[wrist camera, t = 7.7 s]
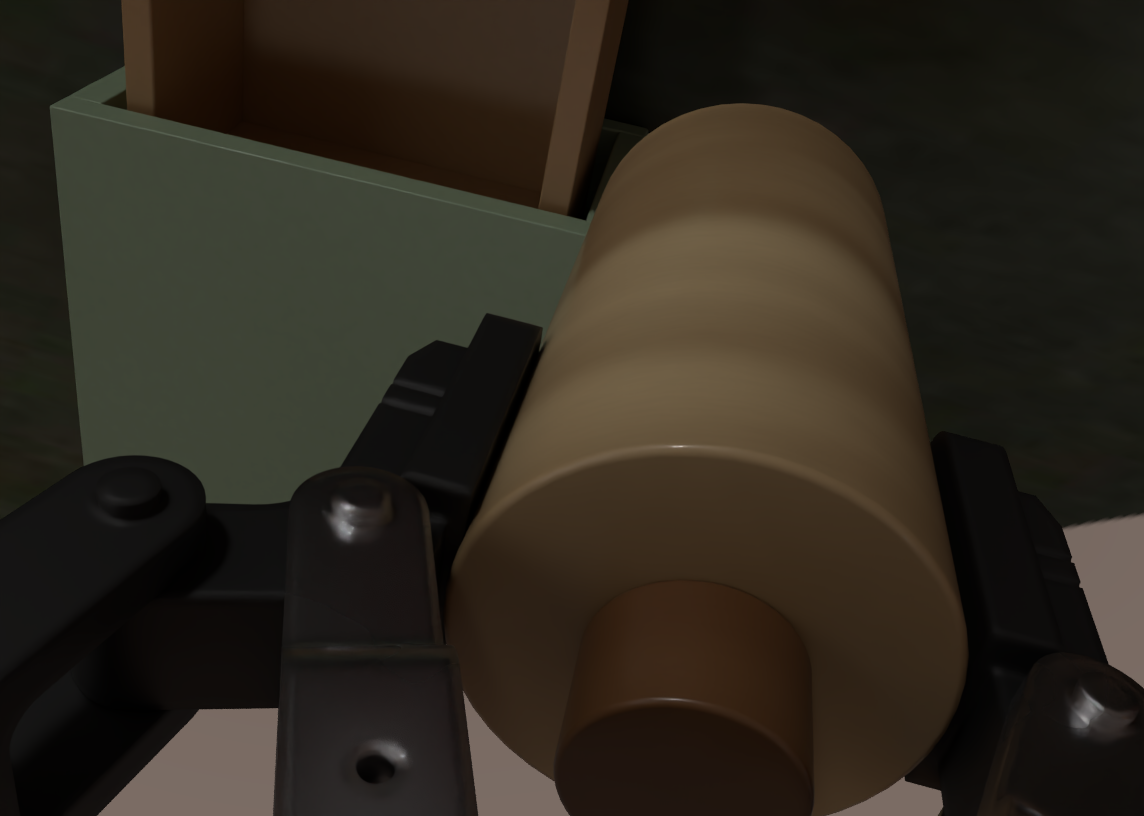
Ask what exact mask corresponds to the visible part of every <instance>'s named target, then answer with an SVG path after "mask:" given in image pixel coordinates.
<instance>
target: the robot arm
mask: <svg viewBox="0 0 1144 816" xmlns="http://www.w3.org/2000/svg"><path fill="white" fill-rule="evenodd" d="M542 331H543V328H542V327H540V326H537V325H533V324H529V323H525V322H521V321H517V320H513V319H509V318H505V317H501V316H498V315H494V314H490V313H486V315H485V316H484V318H483V320H482V322H481V323H480V325H479V327H478V329H477V331H476V333H475V335H474V337H473V339H472V341H471V343H470V344H469V346H468V348H467V347H463V346H459V345H455V344H451V343H447V342H443V341H439V340H435V341H434V342H432V343H430V344H428V345H427V346H425V347H423V348H421V349H420V350H418V351H416V352H414V353H412V354H411V355H409V356H408V357H407V359H406V360H405V362H404V364H403V365H402V367H401V368H400V370H399V372H398V373H397V375H396V377H395V378H394V381H393V384H391V385H390V386H389V388H388V390H387V391H386V393H385V395H384V396H383V398H382V402H381V403H379V404H378V406H377V408H376V409H375V411H374V413H373V414H372V416H371V417H370V419H369V421H368V422H367V424H366V426H365V427H364V429H363V430H362V432H361V434H360V435H359V437H358V439H357V440H356V442H355V444H354V445H353V447H352V448H351V450H350V452H349V453H348V455H347V457H346V458H345V460H344V462H343V463H342V465H341V466H340V467H339V468H334V469H330V470H326V471H323V472H320V473H318V474H315V475H314V476H312V477H310V478H308V479H307V480H305V481H304V482H303V483H302V484H301V485H299V487H298V488H297V489H296V490H295V492H294V493H293V495H292V498H291V500H290V501H286V502H281V503H273V504H226V503H206V495H205V489H204V487H203V485H202V483H201V481H200V480H199V479H198V477H197V476H196V475H195V474H194V473H193V472H191V471H190V470H189V469H187V468H186V467H184V466H182V465H180V464H178V463H175V462H173V461H170V460H167V459H163V458H159V457H153V456H145V455H128V456H117V457H112V458H106V459H103V460H99V461H96V462H93V463H90V464H88V465H85V466H83V467H81V468H79V469H77V470H76V471H74V472H72V473H71V474H69V475H68V476H66V477H65V478H63V479H62V480H60V481H59V482H57V483H56V484H54V485H52V486H51V487H49V488H48V489H46V490H45V491H43V492H42V493H40V494H39V495H37V496H36V497H34V498H33V499H31V500H30V501H28V502H27V503H25V504H24V505H22V506H21V507H19V508H18V509H16V510H15V511H13V512H12V513H10V514H9V515H7V516H6V517H4V518H3V519H1V520H0V816H97V815H98V814H99V813H100V812H101V811H102V810H103V809H104V808H105V807H106V806H107V805H108V804H109V803H110V802H111V800H113V799H114V798H115V796H117V795H118V794H119V792H120V791H121V790H122V789H123V788H124V787H125V786H126V785H127V784H128V783H129V782H130V781H131V780H132V779H133V778H134V777H135V776H136V775H137V774H138V773H139V772H140V771H141V770H142V769H143V768H144V767H145V766H146V765H147V764H148V763H149V762H150V761H151V760H152V759H153V757H154V756H156V755H157V754H158V752H159V751H160V750H161V749H162V748H163V747H164V746H165V745H166V744H167V743H168V742H169V741H170V740H171V739H172V738H173V737H174V736H175V735H176V734H177V733H178V732H179V731H180V730H181V729H182V728H183V727H184V726H185V725H186V724H187V723H188V722H189V721H190V720H191V719H192V718H193V716H194V715H195V714H196V712H197V711H198V710H199V709H251V708H278V727H277V747H276V768H275V789H274V808H273V816H478V811H477V802H476V794H475V786H474V778H473V770H472V761H471V753H470V745H469V737H468V729H467V721H466V713H465V704H464V696H463V688H462V680H461V672H460V664H459V659H458V654H457V651H456V648H455V647H454V646H453V645H447V643H446V639H445V630H444V615H443V608H444V599H445V589H446V584H447V581H448V577H449V574H450V570H451V567H452V564H453V561H454V559H455V556H456V554H457V551H458V549H459V547H460V545H461V543H462V541H463V539H464V536H465V534H466V531H467V529H468V526H469V524H470V521H471V519H472V517H473V514H474V512H475V509H476V507H477V504H478V502H479V499H480V497H481V494H482V492H483V489H484V487H485V484H486V482H487V479H488V477H489V475H490V472H491V470H492V467H493V465H494V462H495V460H496V457H497V455H498V452H499V450H500V447H501V445H502V442H503V440H504V437H505V435H506V433H507V430H508V428H509V425H510V423H511V420H512V418H513V415H514V413H515V410H516V408H517V405H518V403H519V400H520V398H521V396H522V393H523V391H524V388H525V386H526V383H527V381H528V378H529V376H530V373H531V371H532V368H533V366H534V363H535V361H536V358H537V356H538V354H539V349H540V344H541V339H542ZM930 446H931V451H932V456H933V461H934V466H935V471H936V476H937V481H938V486H939V491H940V496H941V501H942V506H943V511H944V516H945V521H946V526H947V531H948V536H949V541H950V547H951V552H952V557H953V562H954V567H955V572H956V577H957V582H958V587H959V592H960V597H961V602H962V607H963V612H964V617H965V622H966V627H967V637H968V649H969V659H968V669H967V678H966V683H965V686H964V690H963V693H962V696H961V700H960V703H959V706H958V708H957V711H956V712H955V714H954V716H953V718H952V720H951V722H950V724H949V726H948V728H947V730H946V732H945V733H944V735H943V736H942V737H941V739H940V740H939V741H938V743H937V744H936V745H935V747H934V748H933V749H932V751H931V752H930V753H929V754H928V755H927V756H926V757H925V758H924V759H923V760H922V761H921V762H920V763H919V764H918V765H917V766H916V767H915V768H914V769H913V770H912V771H911V772H910V773H908V774H907V775H905V781H907V782H911V783H914V784H918V785H922V786H926V787H929V788H933V789H937V790H940V791H941V793H942V800H943V808H942V810H941V811H940V813H939V814H938V816H1144V688H1143V687H1141V686H1140V685H1139V684H1138V683H1137V682H1135V681H1134V680H1133V679H1132V678H1130V677H1128V676H1127V675H1126V674H1124V673H1123V672H1121V671H1119V670H1117V669H1116V668H1114V667H1112V666H1110V665H1109V664H1108V661H1107V658H1106V655H1105V652H1104V649H1103V646H1102V644H1101V641H1100V638H1099V635H1098V632H1097V629H1096V626H1095V623H1094V621H1093V618H1092V615H1091V611H1090V609H1089V606H1088V603H1087V600H1086V597H1085V594H1084V591H1083V588H1080V587H1079V584H1080V579H1079V576H1078V573H1077V571H1076V568H1075V564H1074V563H1071V558H1072V556H1071V553H1070V550H1069V547H1068V544H1067V541H1066V538H1065V535H1064V532H1063V529H1062V527H1061V525H1060V524H1059V523H1058V522H1057V521H1056V519H1055V518H1054V517H1053V516H1052V515H1051V513H1050V512H1049V511H1048V510H1047V509H1046V508H1045V506H1044V505H1043V504H1042V503H1041V502H1040V500H1039V499H1038V498H1037V497H1036V496H1034V495H1031V494H1027V493H1023V492H1019V491H1018V490H1017V487H1016V483H1015V480H1014V477H1013V473H1012V470H1011V467H1010V463H1009V460H1008V457H1007V453H1006V451H1005V449H1004V448H1003V447H1002V446H999V445H995V444H991V443H988V442H984V441H980V440H976V439H972V438H968V437H964V436H960V435H957V434H953V433H949V432H945V431H942V432H940V433H938V434H937V435H936V437H935V438H934V439H933V441H932V442H931V444H930Z"/></svg>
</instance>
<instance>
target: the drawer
mask: <svg viewBox="0 0 1144 816" xmlns="http://www.w3.org/2000/svg"><path fill="white" fill-rule="evenodd" d="M628 1H629V0H121V2H122V21H123V40H124V59H125V77H126V96H127V110H128V111H133V112H137V113H141V114H145V115H149V116H153V117H158V118H162V119H166V120H170V121H174V122H178V123H183V124H187V125H191V126H195V127H199V128H203V129H207V130H212V131H216V132H220V133H224V134H228V135H232V136H237V137H241V138H245V139H249V140H253V141H257V142H261V143H266V144H270V145H274V146H278V147H282V148H286V149H291V150H295V151H299V152H303V153H307V154H311V155H315V156H320V157H324V158H328V159H332V160H336V161H340V162H345V163H349V164H353V165H357V166H361V167H365V168H370V169H374V170H378V171H382V172H386V173H390V174H394V175H399V176H403V177H407V178H411V179H415V180H419V181H424V182H428V183H432V184H436V185H440V186H444V187H448V188H453V189H457V190H461V191H465V192H469V193H473V194H478V195H482V196H486V197H490V198H494V199H498V200H502V201H507V202H511V203H515V204H519V205H523V206H527V207H532V208H536V209H540V210H544V211H548V212H552V213H556V214H561V215H565V216H569V217H573V218H577V219H581V220H582V218H583V216H584V212H585V207H586V202H587V198H588V193H589V188H590V183H591V178H592V174H593V169H594V164H595V159H596V154H597V150H598V145H599V140H600V135H601V130H602V126H603V121H604V116H605V111H606V106H607V102H608V97H609V92H610V87H611V82H612V78H613V73H614V68H615V63H616V58H617V54H618V49H619V44H620V39H621V34H622V30H623V25H624V20H625V15H626V10H627V6H628Z"/></svg>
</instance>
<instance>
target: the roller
mask: <svg viewBox="0 0 1144 816" xmlns="http://www.w3.org/2000/svg"><path fill="white" fill-rule="evenodd" d="M443 615H444V630H445V639H446V643H447V645H453V646H454V647H455V648H456V651H457V654H458V659H459V664H460V672H461V680H462V688H463V691H464V693H465V694H466V696H467V698H468V699H469V701H470V703H471V704H472V706H473V708H474V709H475V710H476V712H477V713H478V714H479V716H480V717H481V718H482V720H483V721H484V722H485V723H486V725H487V726H488V727H489V729H490V730H492V732H493V733H494V734H495V735H496V736H497V737H498V738H499V739H500V740H501V741H502V742H503V743H504V744H505V745H506V746H507V747H508V748H509V749H511V750H512V751H513V752H514V753H516V754H517V755H518V756H519V757H520V758H522V759H523V760H524V761H525V762H526V763H528V764H529V765H531V766H532V767H533V768H535V769H537V770H538V771H539V772H541V773H542V774H544V775H546V776H547V777H548V778H550V779H552V780H553V781H555V785H556V789H557V792H558V795H559V797H560V800H561V802H562V804H563V805H564V807H565V809H566V811H567V812H568V813H569V815H570V816H826V815H829V814H833V813H836V812H839V811H842V810H844V809H847V808H849V807H851V806H854V805H856V804H859V803H861V802H864V801H866V800H867V799H869V798H871V797H873V796H875V795H876V794H878V793H880V792H882V791H884V790H886V789H887V788H889V787H890V786H892V785H893V784H895V783H896V782H897V781H899V780H900V779H901V778H903V777H904V776H905V775H907V774H908V773H910V772H911V771H912V770H913V769H914V768H915V767H916V766H917V765H918V764H919V763H920V762H921V761H922V760H923V759H924V758H925V757H926V756H927V755H928V754H929V753H930V752H931V751H932V749H933V748H934V747H935V745H936V744H937V743H938V741H939V740H940V739H941V737H942V736H943V735H944V733H945V732H946V730H947V728H948V726H949V724H950V722H951V720H952V718H953V716H954V714H955V712H956V711H957V708H958V706H959V703H960V700H961V696H962V693H963V690H964V686H965V683H966V678H967V669H968V659H969V649H968V637H967V627H966V622H965V617H964V612H963V607H962V602H961V597H960V592H959V587H958V582H957V577H956V572H955V567H954V562H953V557H952V552H951V547H950V541H949V536H948V531H947V526H946V521H945V516H944V511H943V506H942V501H941V496H940V491H939V486H938V481H937V476H936V471H935V466H934V461H933V456H932V451H931V446H930V441H929V436H928V431H927V426H926V421H925V416H924V411H923V405H922V400H921V395H920V390H919V385H918V380H917V375H916V370H915V365H914V360H913V355H912V350H911V345H910V340H909V335H908V330H907V325H906V320H905V315H904V310H903V305H902V300H901V295H900V290H899V285H898V280H897V274H896V269H895V264H894V259H893V254H892V249H891V244H890V239H889V234H888V229H887V224H886V219H885V214H884V210H883V206H882V203H881V199H880V195H879V193H878V191H877V188H876V186H875V184H874V181H873V179H872V177H871V176H870V174H869V173H868V171H867V169H866V168H865V166H864V164H863V163H862V162H861V160H860V159H859V158H858V157H857V156H856V154H855V153H854V152H853V151H852V150H851V148H850V147H848V146H847V145H846V144H845V143H844V142H843V141H842V140H841V139H840V138H839V137H837V136H836V135H835V134H833V133H832V132H831V131H829V130H828V129H826V128H825V127H823V126H822V125H820V124H818V123H816V122H814V121H812V120H810V119H808V118H806V117H804V116H802V115H800V114H797V113H794V112H791V111H788V110H785V109H782V108H777V107H772V106H767V105H761V104H745V103H738V104H723V105H717V106H712V107H707V108H701V109H698V110H695V111H692V112H689V113H686V114H683V115H681V116H679V117H677V118H675V119H673V120H671V121H669V122H667V123H664V124H663V125H661V126H660V127H658V128H657V129H655V130H654V131H652V132H651V133H649V134H648V135H647V136H645V137H644V138H643V139H642V140H641V141H640V142H639V143H637V144H636V145H635V146H634V147H633V148H632V149H631V150H630V151H629V153H628V154H627V155H626V156H625V157H624V158H623V159H622V161H621V162H620V163H619V165H618V166H617V168H616V169H615V171H614V172H613V174H612V176H611V177H610V179H609V181H608V183H607V186H606V188H605V190H604V192H603V194H602V197H601V199H600V202H599V204H598V206H597V209H596V211H595V214H594V216H593V219H592V221H591V224H590V226H589V229H588V231H587V234H586V236H585V238H584V241H583V243H582V246H581V248H580V251H579V253H578V256H577V258H576V261H575V263H574V266H573V268H572V270H571V273H570V275H569V278H568V280H567V283H566V285H565V288H564V290H563V293H562V295H561V298H560V300H559V302H558V305H557V307H556V310H555V312H554V315H553V317H552V320H551V322H550V325H549V327H548V330H547V332H546V335H545V337H544V339H543V342H542V344H541V347H540V349H539V354H538V356H537V358H536V361H535V363H534V366H533V368H532V371H531V373H530V376H529V378H528V381H527V383H526V386H525V388H524V391H523V393H522V396H521V398H520V400H519V403H518V405H517V408H516V410H515V413H514V415H513V418H512V420H511V423H510V425H509V428H508V430H507V433H506V435H505V437H504V440H503V442H502V445H501V447H500V450H499V452H498V455H497V457H496V460H495V462H494V465H493V467H492V470H491V472H490V475H489V477H488V479H487V482H486V484H485V487H484V489H483V492H482V494H481V497H480V499H479V502H478V504H477V507H476V509H475V512H474V514H473V517H472V519H471V521H470V524H469V526H468V529H467V531H466V534H465V536H464V539H463V541H462V543H461V545H460V547H459V549H458V551H457V554H456V556H455V559H454V561H453V564H452V567H451V570H450V574H449V577H448V581H447V584H446V589H445V599H444V608H443Z"/></svg>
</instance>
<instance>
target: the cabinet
mask: <svg viewBox="0 0 1144 816" xmlns="http://www.w3.org/2000/svg"><path fill="white" fill-rule="evenodd" d="M50 114H51V125H52V135H53V146H54V156H55V167H56V178H57V188H58V199H59V209H60V220H61V230H62V241H63V251H64V262H65V272H66V283H67V294H68V304H69V315H70V325H71V336H72V346H73V357H74V367H75V378H76V388H77V399H78V410H79V420H80V431H81V441H82V452H83V462H84V466H85V465H88V464H90V463H93V462H96V461H99V460H103V459H106V458H112V457H117V456H128V455H145V456H153V457H159V458H163V459H167V460H170V461H173V462H175V463H178V464H180V465H182V466H184V467H186V468H187V469H189V470H190V471H191V472H193V473H194V474H195V475H196V476H197V477H198V479H199V480H200V481H201V483H202V485H203V487H204V489H205V495H206V503H226V504H273V503H281V502H286V501H290V500H291V498H292V495H293V493H294V492H295V490H296V489H297V488H298V487H299V485H301V484H302V483H303V482H304V481H305V480H307V479H308V478H310V477H312V476H314V475H315V474H318V473H320V472H323V471H326V470H330V469H334V468H339V467H340V466H341V465H342V463H343V462H344V460H345V458H346V457H347V455H348V453H349V452H350V450H351V448H352V447H353V445H354V444H355V442H356V440H357V439H358V437H359V435H360V434H361V432H362V430H363V429H364V427H365V426H366V424H367V422H368V421H369V419H370V417H371V416H372V414H373V413H374V411H375V409H376V408H377V406H378V404H379V403H381V402H382V398H383V396H384V395H385V393H386V391H387V390H388V388H389V386H390V385H391V384H393V381H394V378H395V377H396V375H397V373H398V372H399V370H400V368H401V367H402V365H403V364H404V362H405V360H406V359H407V357H408V356H409V355H411V354H412V353H414V352H416V351H418V350H420V349H421V348H423V347H425V346H427V345H428V344H430V343H432V342H434V341H435V340H439V341H443V342H447V343H451V344H455V345H459V346H463V347H467V348H468V346H469V344H470V343H471V341H472V339H473V337H474V335H475V333H476V331H477V329H478V327H479V325H480V323H481V322H482V320H483V318H484V316H485V315H486V313H490V314H494V315H498V316H501V317H505V318H509V319H513V320H517V321H521V322H525V323H529V324H533V325H537V326H540V327H542V328H543V331H542V339H541V344H542V342H543V339H544V337H545V335H546V332H547V330H548V327H549V325H550V322H551V320H552V317H553V315H554V312H555V310H556V307H557V305H558V302H559V300H560V298H561V295H562V293H563V290H564V288H565V285H566V283H567V280H568V278H569V275H570V273H571V270H572V268H573V266H574V263H575V261H576V258H577V256H578V253H579V251H580V248H581V246H582V243H583V241H584V238H585V236H586V234H587V231H588V229H589V226H590V224H591V221H592V219H593V216H594V214H595V211H596V209H597V206H598V204H599V202H600V199H601V197H602V194H603V192H604V190H605V188H606V186H607V183H608V181H609V179H610V177H611V176H612V174H613V172H614V171H615V169H616V168H617V166H618V165H619V163H620V162H621V161H622V159H623V158H624V157H625V156H626V155H627V154H628V153H629V151H630V150H631V149H632V148H633V147H634V146H635V145H636V144H637V143H639V142H640V141H641V140H642V139H643V138H644V137H645V136H647V135H648V129H646V128H643V127H639V126H634V125H630V124H626V123H622V122H618V121H613V120H609V119H605V118H604V121H603V126H602V130H601V135H600V140H599V145H598V150H597V154H596V159H595V164H594V169H593V174H592V178H591V183H590V188H589V193H588V198H587V202H586V207H585V212H584V216H583V218H582V220H581V219H577V218H573V217H569V216H565V215H561V214H556V213H552V212H548V211H544V210H540V209H536V208H532V207H527V206H523V205H519V204H515V203H511V202H507V201H502V200H498V199H494V198H490V197H486V196H482V195H478V194H473V193H469V192H465V191H461V190H457V189H453V188H448V187H444V186H440V185H436V184H432V183H428V182H424V181H419V180H415V179H411V178H407V177H403V176H399V175H394V174H390V173H386V172H382V171H378V170H374V169H370V168H365V167H361V166H357V165H353V164H349V163H345V162H340V161H336V160H332V159H328V158H324V157H320V156H315V155H311V154H307V153H303V152H299V151H295V150H291V149H286V148H282V147H278V146H274V145H270V144H266V143H261V142H257V141H253V140H249V139H245V138H241V137H237V136H232V135H228V134H224V133H220V132H216V131H212V130H207V129H203V128H199V127H195V126H191V125H187V124H183V123H178V122H174V121H170V120H166V119H162V118H158V117H153V116H149V115H145V114H141V113H137V112H133V111H128V110H127V96H126V77H125V66H124V67H122V68H120V69H118V70H117V71H115V72H113V73H111V74H109V75H107V76H105V77H103V78H102V79H100V80H98V81H96V82H94V83H92V84H90V85H88V86H86V87H85V88H83V89H81V90H79V91H77V92H75V93H73V94H71V95H70V96H68V97H66V98H64V99H62V100H60V101H58V102H56V103H55V104H53V105H51V106H50ZM541 344H540V347H541Z"/></svg>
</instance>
